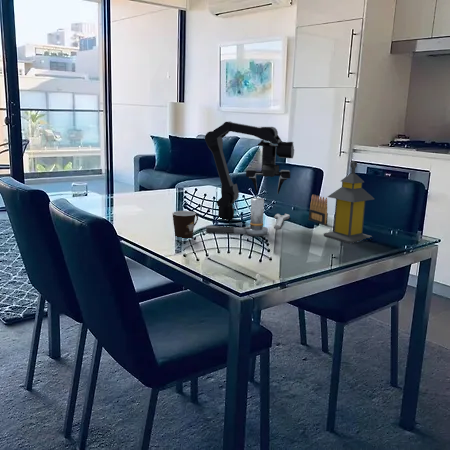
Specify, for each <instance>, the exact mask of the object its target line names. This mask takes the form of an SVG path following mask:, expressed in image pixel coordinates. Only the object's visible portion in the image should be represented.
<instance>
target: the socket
mask: <svg viewBox="0 0 450 450" xmlns="http://www.w3.org/2000/svg"><path fill="white" fill-rule="evenodd" d="M264 210H265V198H262V197H252V198H251V203H250V221H249V222H250V223H249V226H250V229H252V230H262V229H263V227H264Z"/></svg>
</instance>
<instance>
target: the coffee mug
mask: <svg viewBox="0 0 450 450" xmlns="http://www.w3.org/2000/svg"><path fill="white" fill-rule="evenodd" d="M198 216H199V215H198V214H197V213H196V212H194V211H190V210H177V211H173V212H172V221H173V229H174V237H175V236H177V237H182V238H192V237H194V228H195V226H196V225H197V223H198V220H199V217H198ZM192 239H193V238H192Z"/></svg>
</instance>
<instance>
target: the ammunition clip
mask: <svg viewBox="0 0 450 450" xmlns="http://www.w3.org/2000/svg"><path fill="white" fill-rule="evenodd" d="M310 199H311V201H310V204H309V205H310V206H309V209H308V221H311V222H312V223H316V224H319V225H322V226H327V225H328V218H329V217H328V215H329V214H328V197H325V196H323V197H322V196H321V195H320V196H319V195H316V194H312V195H311V198H310Z"/></svg>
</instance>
